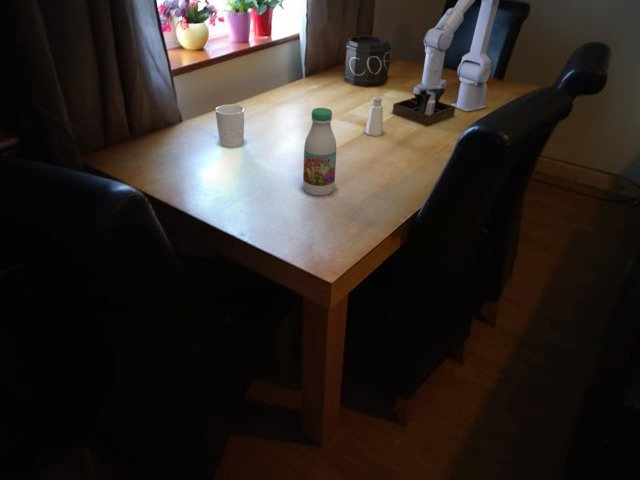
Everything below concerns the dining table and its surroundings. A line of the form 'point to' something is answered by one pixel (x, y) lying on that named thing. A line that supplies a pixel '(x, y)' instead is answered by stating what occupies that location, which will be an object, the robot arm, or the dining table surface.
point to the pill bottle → (430, 104)
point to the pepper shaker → (375, 118)
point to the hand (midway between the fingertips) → (426, 111)
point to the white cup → (230, 125)
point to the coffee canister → (367, 61)
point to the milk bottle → (320, 154)
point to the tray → (410, 112)
